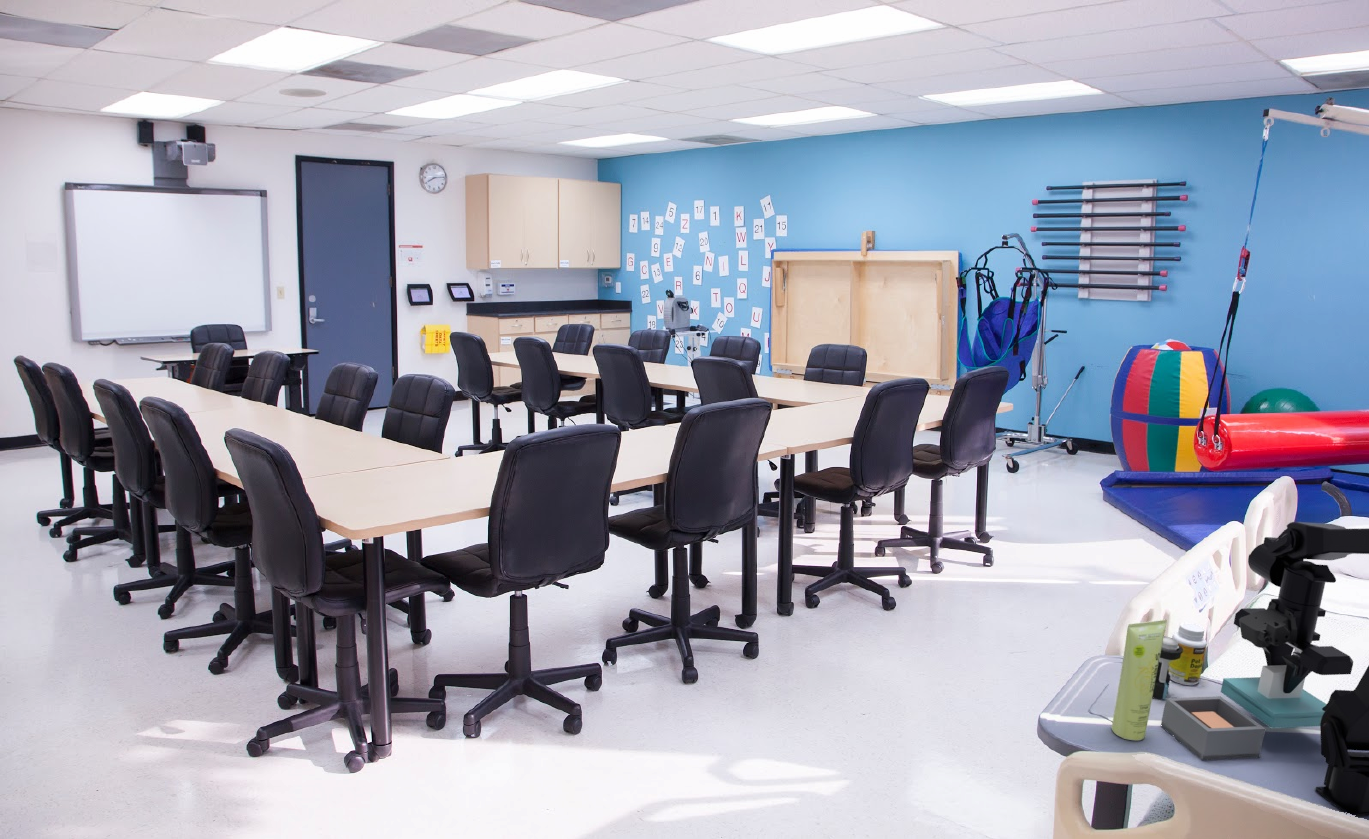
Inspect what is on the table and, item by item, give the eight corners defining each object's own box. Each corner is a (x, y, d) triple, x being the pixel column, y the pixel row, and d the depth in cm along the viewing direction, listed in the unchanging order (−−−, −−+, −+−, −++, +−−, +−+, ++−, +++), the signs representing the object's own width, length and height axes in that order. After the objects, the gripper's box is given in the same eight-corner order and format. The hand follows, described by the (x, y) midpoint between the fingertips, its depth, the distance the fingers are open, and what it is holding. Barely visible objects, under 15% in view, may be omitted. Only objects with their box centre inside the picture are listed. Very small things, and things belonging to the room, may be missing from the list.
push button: (1136, 680, 176) (1145, 628, 174) (1168, 685, 175) (1178, 633, 173) (1144, 697, 170) (1153, 644, 168) (1177, 703, 169) (1187, 649, 166)
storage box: (1259, 757, 153) (1265, 728, 152) (1202, 760, 151) (1208, 731, 150) (1214, 723, 162) (1220, 696, 161) (1160, 725, 161) (1165, 698, 160)
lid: (1334, 725, 156) (1343, 684, 154) (1271, 728, 154) (1280, 687, 152) (1280, 689, 167) (1288, 651, 165) (1220, 691, 164) (1228, 653, 163)
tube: (1142, 746, 154) (1164, 631, 150) (1108, 736, 156) (1128, 623, 152) (1146, 731, 159) (1167, 619, 154) (1112, 721, 161) (1132, 610, 157)
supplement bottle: (1188, 689, 174) (1198, 635, 172) (1158, 675, 178) (1168, 623, 176) (1205, 682, 177) (1215, 629, 175) (1175, 669, 182) (1185, 617, 179)
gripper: (1214, 576, 163) (1197, 663, 167) (1301, 624, 145) (1280, 720, 149) (1272, 576, 165) (1254, 661, 169) (1365, 623, 147) (1343, 717, 151)
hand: (1280, 688), depth 159 cm, fingers closed on lid, 2 cm apart
